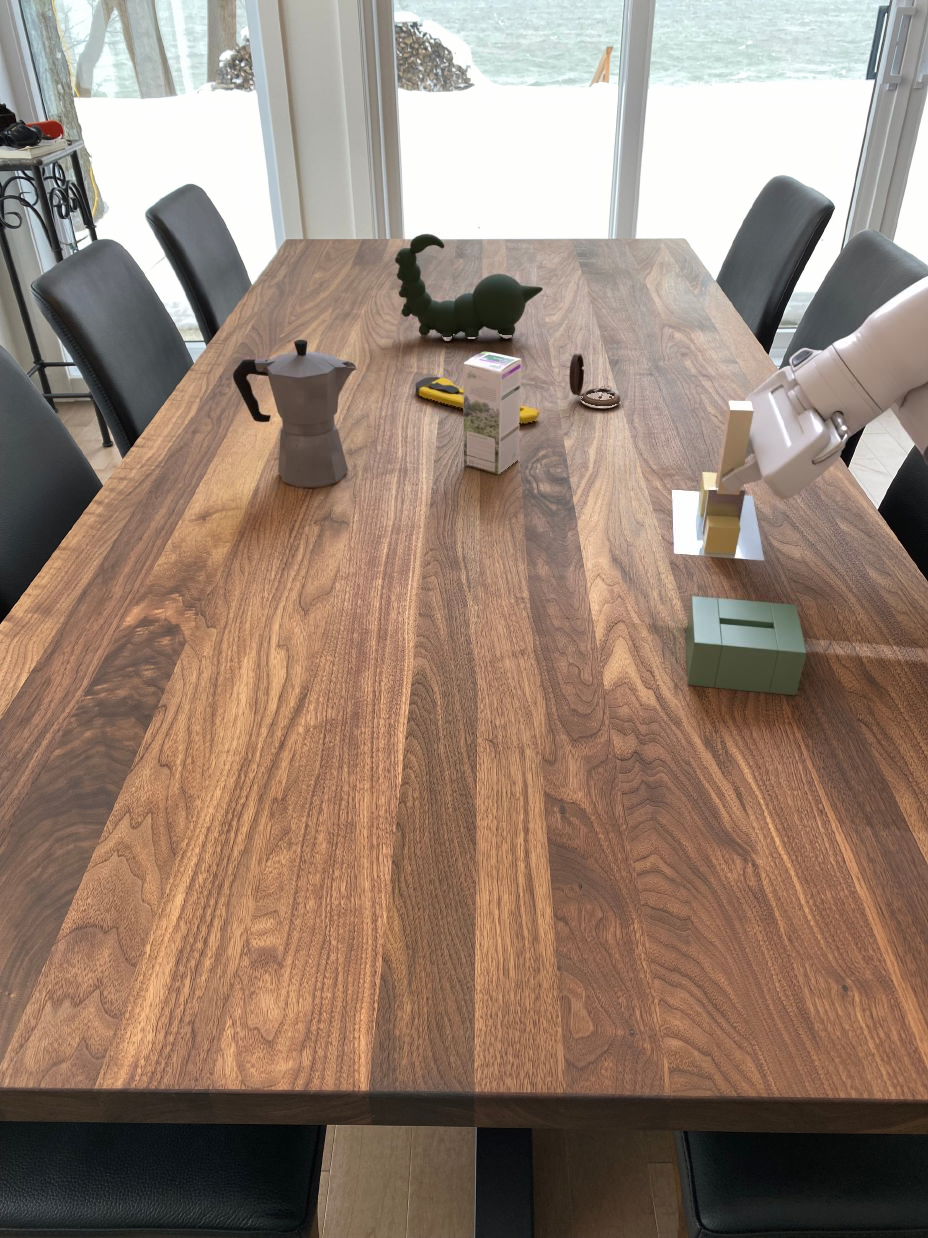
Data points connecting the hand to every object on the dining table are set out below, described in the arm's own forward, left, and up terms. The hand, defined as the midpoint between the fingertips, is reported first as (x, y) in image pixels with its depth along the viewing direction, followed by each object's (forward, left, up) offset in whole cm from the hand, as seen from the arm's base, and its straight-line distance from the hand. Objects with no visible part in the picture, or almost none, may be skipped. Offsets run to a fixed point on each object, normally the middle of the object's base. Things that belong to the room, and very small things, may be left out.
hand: (723, 477), depth 108 cm
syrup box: (+28, -19, -10) cm, 35 cm away
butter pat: (-1, +1, -8) cm, 8 cm away
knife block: (-2, +22, -9) cm, 24 cm away
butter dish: (-1, -5, -9) cm, 11 cm away
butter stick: (-1, -9, -8) cm, 12 cm away
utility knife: (+33, -39, -10) cm, 52 cm away
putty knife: (-1, 0, -7) cm, 7 cm away
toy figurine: (+39, -70, -10) cm, 81 cm away
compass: (+15, -44, -10) cm, 48 cm away
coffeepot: (+52, -12, -10) cm, 55 cm away
